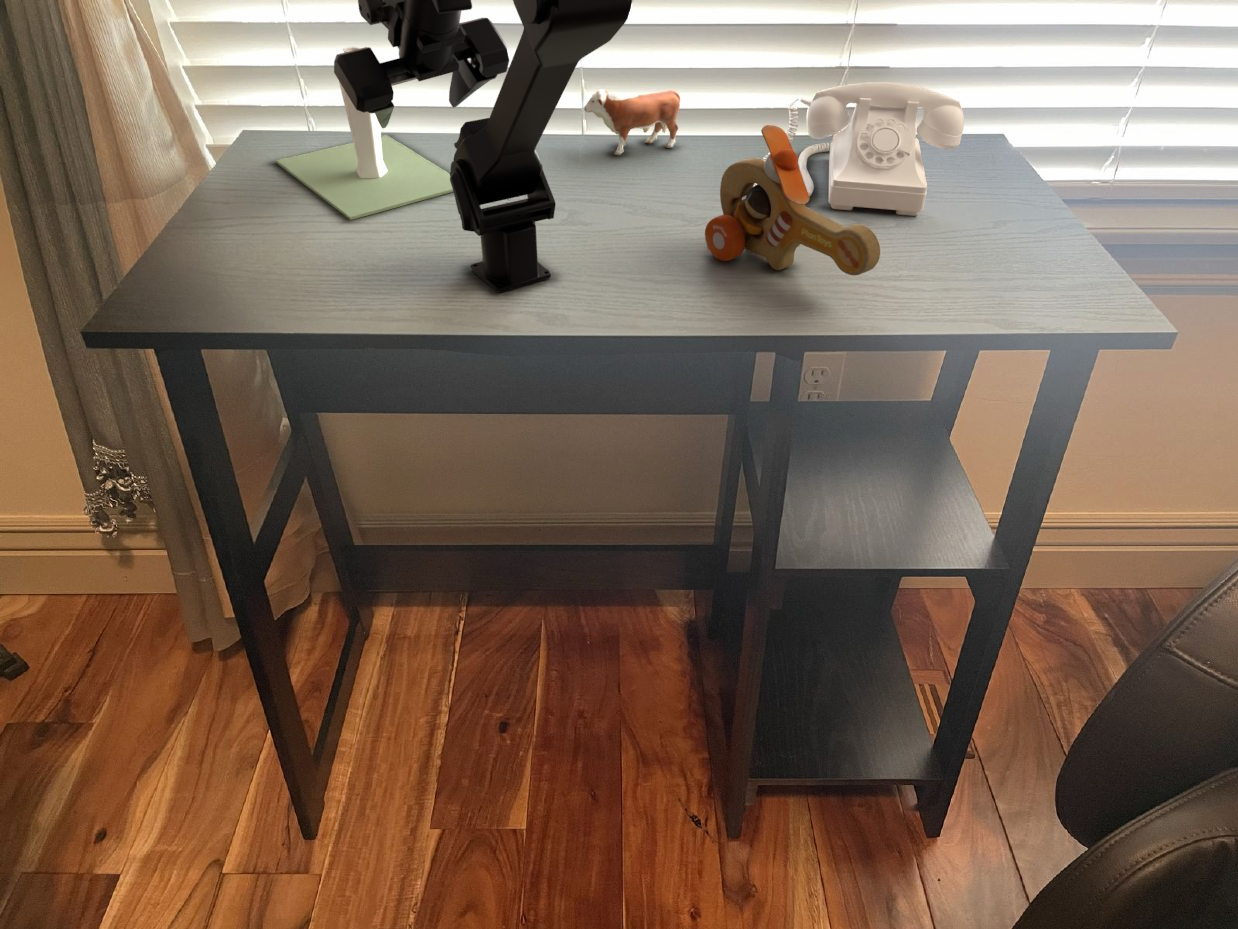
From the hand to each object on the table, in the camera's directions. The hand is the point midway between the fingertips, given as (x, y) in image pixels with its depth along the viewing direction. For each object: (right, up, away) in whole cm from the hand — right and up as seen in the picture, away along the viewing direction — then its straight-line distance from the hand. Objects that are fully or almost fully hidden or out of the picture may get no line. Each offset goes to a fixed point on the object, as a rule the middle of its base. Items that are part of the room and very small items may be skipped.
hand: (417, 114), depth 109 cm
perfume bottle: (-8, -4, +10) cm, 14 cm away
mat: (-8, -4, +11) cm, 14 cm away
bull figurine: (+26, +2, +19) cm, 32 cm away
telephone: (+53, -4, +11) cm, 55 cm away
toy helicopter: (+41, -20, -8) cm, 47 cm away
